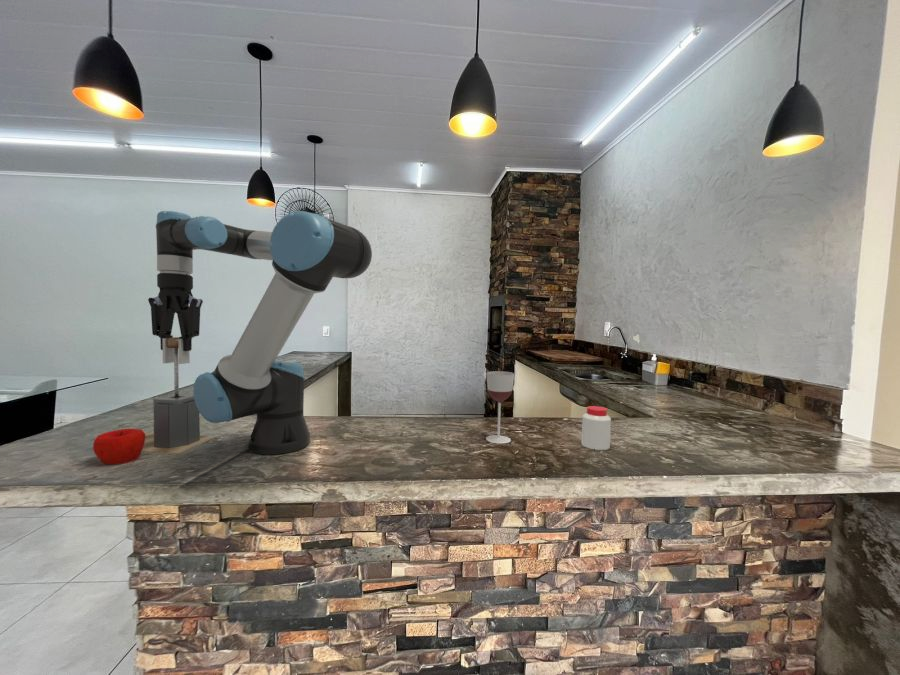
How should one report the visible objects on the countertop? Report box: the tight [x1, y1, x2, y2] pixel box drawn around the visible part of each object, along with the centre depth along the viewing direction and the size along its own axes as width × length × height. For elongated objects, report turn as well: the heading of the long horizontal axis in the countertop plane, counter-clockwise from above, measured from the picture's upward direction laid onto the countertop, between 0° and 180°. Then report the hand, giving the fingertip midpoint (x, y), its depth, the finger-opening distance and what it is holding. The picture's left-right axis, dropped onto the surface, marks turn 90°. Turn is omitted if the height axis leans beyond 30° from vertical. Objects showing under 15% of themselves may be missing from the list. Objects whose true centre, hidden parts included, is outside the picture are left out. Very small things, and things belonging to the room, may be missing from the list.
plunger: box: [167, 336, 180, 398], centre depth 98 cm, size 7×7×20 cm
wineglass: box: [485, 370, 515, 444], centre depth 111 cm, size 8×9×20 cm
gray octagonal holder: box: [152, 393, 201, 448], centre depth 99 cm, size 10×12×12 cm
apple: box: [92, 428, 146, 465], centre depth 86 cm, size 9×9×8 cm
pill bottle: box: [580, 405, 612, 451], centre depth 108 cm, size 8×8×11 cm
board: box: [142, 432, 216, 454], centre depth 98 cm, size 22×13×1 cm, turn 85°
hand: (176, 362), depth 98 cm, fingers open, 4 cm apart
